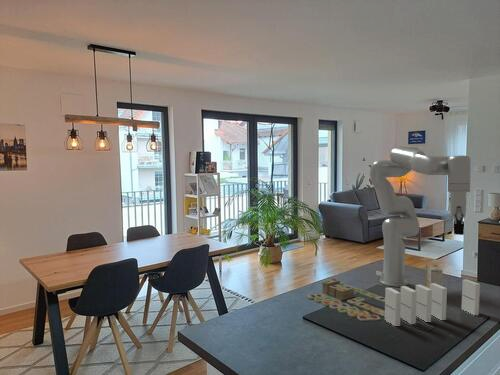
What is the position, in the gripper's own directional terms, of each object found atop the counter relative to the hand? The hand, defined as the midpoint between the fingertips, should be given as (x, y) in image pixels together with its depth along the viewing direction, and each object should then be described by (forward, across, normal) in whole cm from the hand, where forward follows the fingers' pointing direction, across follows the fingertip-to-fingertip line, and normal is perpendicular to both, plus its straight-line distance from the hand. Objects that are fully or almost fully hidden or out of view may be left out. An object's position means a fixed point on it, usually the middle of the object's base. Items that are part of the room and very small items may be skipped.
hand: (458, 232), depth 141 cm
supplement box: (+31, -14, -9) cm, 35 cm away
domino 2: (+31, +18, -16) cm, 39 cm away
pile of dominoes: (+31, +9, -37) cm, 49 cm away
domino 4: (+31, +9, -7) cm, 33 cm away
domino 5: (+31, -2, +4) cm, 31 cm away
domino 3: (+31, +14, -12) cm, 36 cm away
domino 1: (+31, +23, -21) cm, 44 cm away
